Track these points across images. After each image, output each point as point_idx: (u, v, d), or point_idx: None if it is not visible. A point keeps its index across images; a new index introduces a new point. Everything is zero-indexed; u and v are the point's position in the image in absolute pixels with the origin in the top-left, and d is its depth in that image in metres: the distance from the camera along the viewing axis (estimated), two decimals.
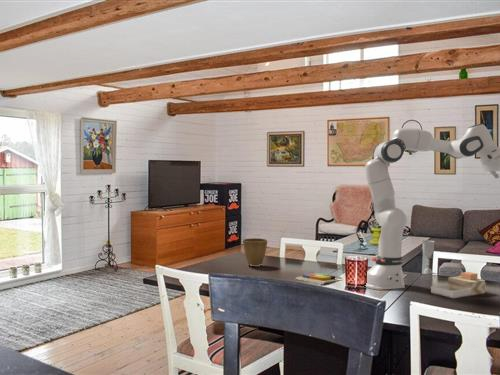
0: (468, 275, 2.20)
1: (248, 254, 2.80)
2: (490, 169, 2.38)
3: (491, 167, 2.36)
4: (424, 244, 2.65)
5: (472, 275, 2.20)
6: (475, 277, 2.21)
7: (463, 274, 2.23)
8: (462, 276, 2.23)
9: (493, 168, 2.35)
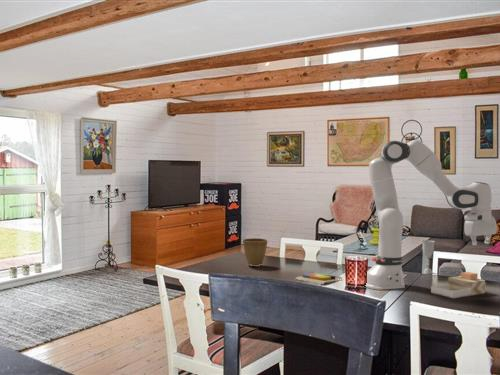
0: (468, 275, 2.20)
1: (248, 254, 2.80)
2: None
3: None
4: (424, 244, 2.65)
5: (472, 275, 2.20)
6: (475, 277, 2.21)
7: (463, 274, 2.23)
8: (462, 276, 2.23)
9: None
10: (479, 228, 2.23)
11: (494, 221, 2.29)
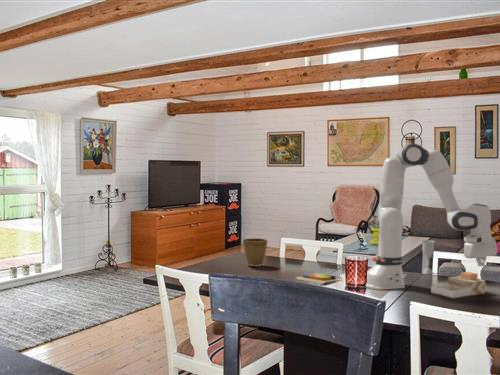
0: (468, 275, 2.20)
1: (248, 254, 2.80)
2: None
3: None
4: (424, 244, 2.65)
5: (472, 275, 2.20)
6: (475, 277, 2.21)
7: (463, 274, 2.23)
8: (462, 276, 2.23)
9: None
10: (478, 250, 2.23)
11: (494, 243, 2.28)
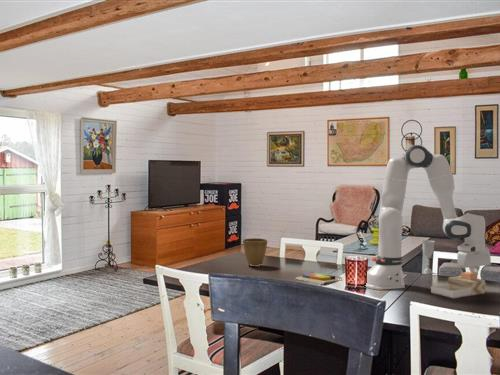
0: (468, 275, 2.20)
1: (248, 254, 2.80)
2: None
3: None
4: (424, 244, 2.65)
5: (472, 275, 2.20)
6: (475, 277, 2.21)
7: (463, 274, 2.22)
8: (462, 276, 2.23)
9: None
10: (472, 260, 2.21)
11: (488, 252, 2.27)
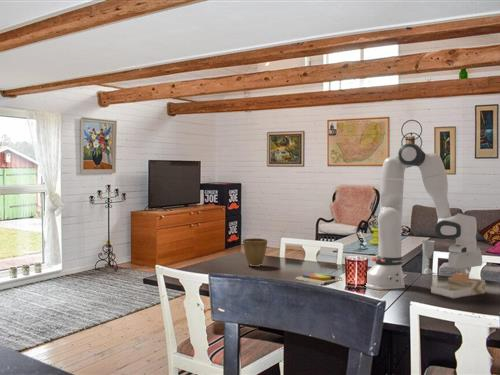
0: (459, 276, 2.17)
1: (248, 254, 2.80)
2: None
3: None
4: (424, 244, 2.65)
5: (463, 276, 2.17)
6: (466, 278, 2.18)
7: (454, 275, 2.19)
8: (453, 277, 2.20)
9: None
10: (463, 261, 2.18)
11: (479, 253, 2.24)
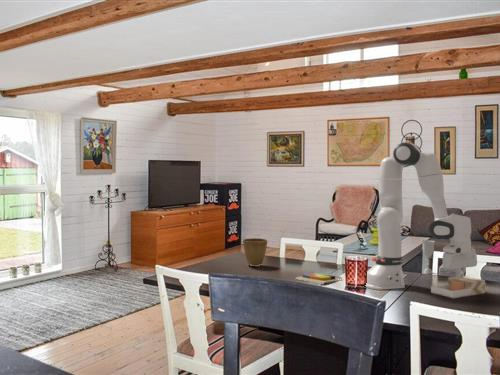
0: None
1: (248, 254, 2.80)
2: None
3: None
4: (424, 244, 2.65)
5: None
6: (462, 285, 2.16)
7: None
8: None
9: None
10: (457, 261, 2.16)
11: (474, 253, 2.21)
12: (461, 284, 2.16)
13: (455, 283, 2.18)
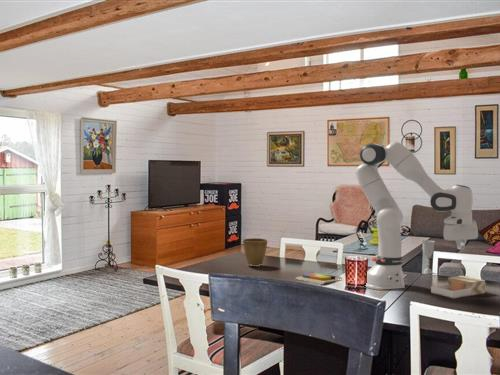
0: None
1: (248, 254, 2.80)
2: None
3: None
4: (424, 244, 2.65)
5: None
6: (462, 285, 2.16)
7: None
8: None
9: None
10: (458, 233, 2.16)
11: (475, 226, 2.22)
12: (461, 284, 2.16)
13: (455, 283, 2.18)
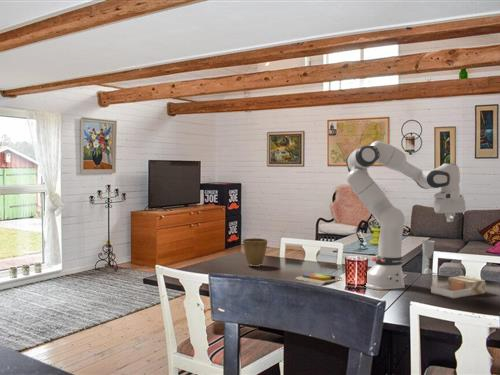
0: None
1: (248, 254, 2.80)
2: None
3: None
4: (424, 244, 2.65)
5: None
6: (462, 285, 2.16)
7: None
8: None
9: None
10: (447, 206, 2.39)
11: (463, 200, 2.44)
12: (461, 284, 2.16)
13: (455, 283, 2.18)
